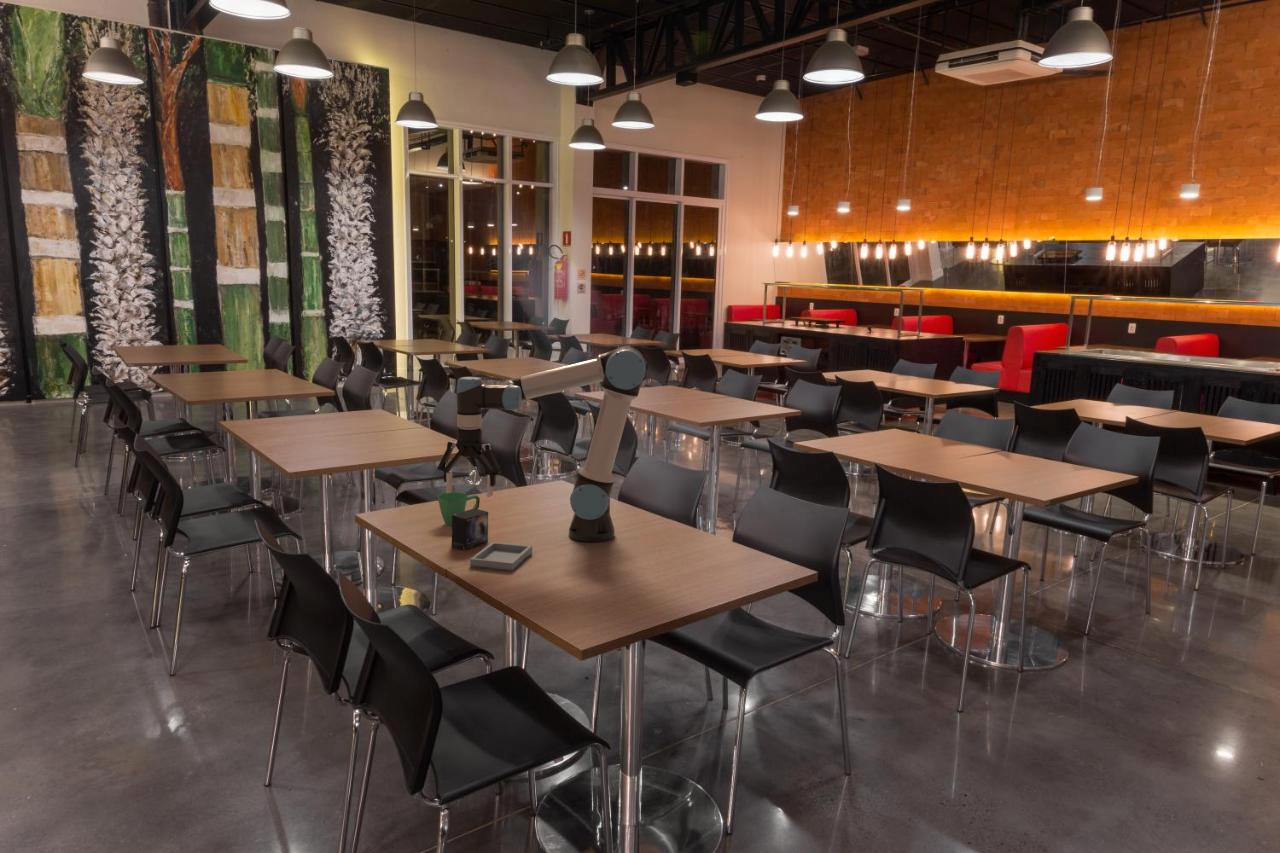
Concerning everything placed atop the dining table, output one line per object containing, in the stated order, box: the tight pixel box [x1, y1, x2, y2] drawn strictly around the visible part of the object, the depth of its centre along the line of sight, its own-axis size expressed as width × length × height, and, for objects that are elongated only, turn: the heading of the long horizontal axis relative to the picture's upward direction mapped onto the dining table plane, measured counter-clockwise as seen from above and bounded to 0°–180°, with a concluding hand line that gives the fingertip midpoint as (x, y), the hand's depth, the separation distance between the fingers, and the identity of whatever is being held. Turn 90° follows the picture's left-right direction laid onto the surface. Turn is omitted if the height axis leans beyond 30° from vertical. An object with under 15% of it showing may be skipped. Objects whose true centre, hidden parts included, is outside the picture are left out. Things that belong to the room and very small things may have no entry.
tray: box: [469, 541, 533, 573], centre depth 253 cm, size 13×17×2 cm
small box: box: [451, 508, 489, 551], centre depth 266 cm, size 11×6×10 cm, turn 148°
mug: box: [437, 491, 481, 527], centre depth 288 cm, size 15×10×10 cm
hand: (469, 494), depth 264 cm, fingers open, 13 cm apart
